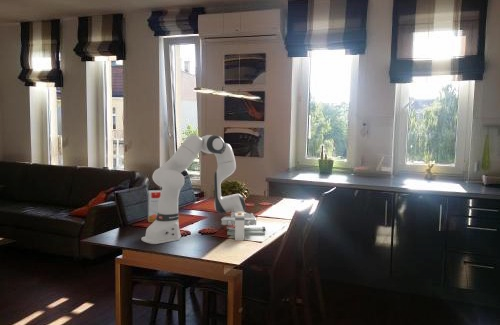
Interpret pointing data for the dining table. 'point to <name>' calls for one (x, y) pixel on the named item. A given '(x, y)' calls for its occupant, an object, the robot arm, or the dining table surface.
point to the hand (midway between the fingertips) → (239, 224)
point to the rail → (248, 229)
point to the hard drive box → (153, 203)
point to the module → (239, 226)
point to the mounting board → (248, 232)
